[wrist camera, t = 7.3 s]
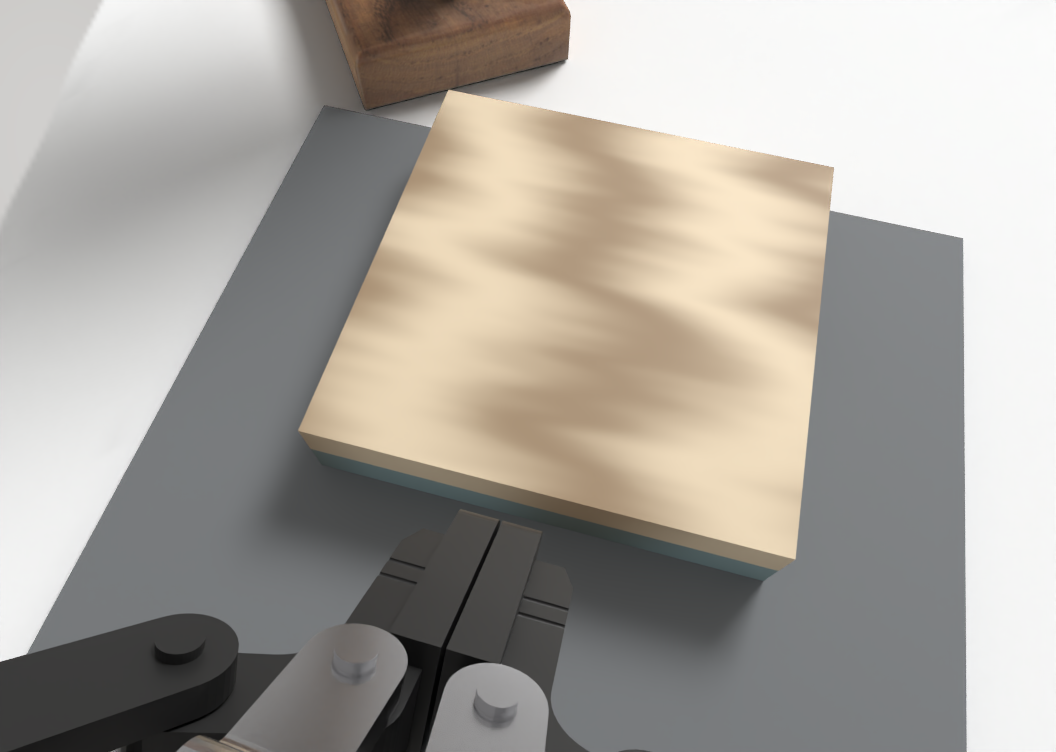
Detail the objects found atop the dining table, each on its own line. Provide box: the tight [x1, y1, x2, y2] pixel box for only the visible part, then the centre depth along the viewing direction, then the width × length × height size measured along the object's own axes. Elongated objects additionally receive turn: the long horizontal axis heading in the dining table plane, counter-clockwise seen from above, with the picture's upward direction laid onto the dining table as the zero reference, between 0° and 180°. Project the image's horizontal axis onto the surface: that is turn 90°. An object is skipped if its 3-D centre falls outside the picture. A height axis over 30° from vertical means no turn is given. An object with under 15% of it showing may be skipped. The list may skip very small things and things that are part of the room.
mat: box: [27, 105, 967, 752], centre depth 21 cm, size 22×20×1 cm
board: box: [298, 90, 834, 581], centre depth 21 cm, size 12×2×12 cm
